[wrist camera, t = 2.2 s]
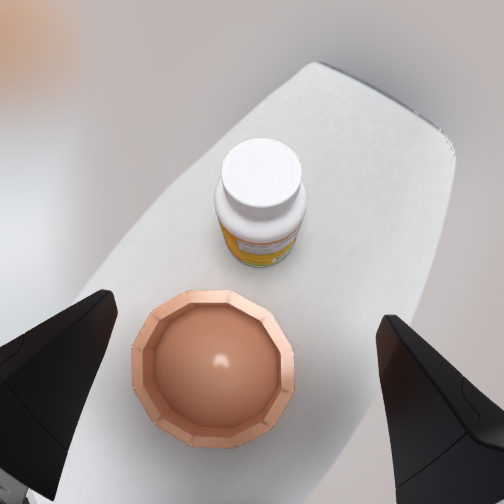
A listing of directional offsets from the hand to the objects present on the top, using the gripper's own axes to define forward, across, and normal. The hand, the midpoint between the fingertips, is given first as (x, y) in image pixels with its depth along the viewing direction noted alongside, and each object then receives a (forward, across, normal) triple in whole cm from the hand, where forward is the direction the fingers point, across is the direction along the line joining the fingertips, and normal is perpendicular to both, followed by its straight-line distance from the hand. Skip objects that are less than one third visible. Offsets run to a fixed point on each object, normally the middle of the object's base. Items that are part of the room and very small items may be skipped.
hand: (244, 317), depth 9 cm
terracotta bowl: (+7, +2, +11) cm, 13 cm away
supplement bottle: (+14, 0, +4) cm, 15 cm away
